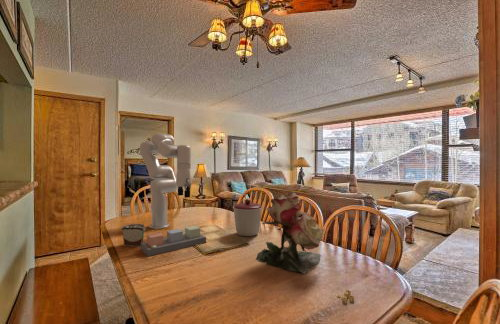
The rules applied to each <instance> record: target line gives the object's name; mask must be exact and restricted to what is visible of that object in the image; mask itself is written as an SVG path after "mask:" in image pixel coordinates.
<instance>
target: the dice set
mask: <svg viewBox="0 0 500 324" xmlns="http://www.w3.org/2000/svg"><path fill="white" fill-rule="evenodd" d="M343 292H344V293H343V296H342V295H341V294H337V295H336V298H340V299H341V301H342V303H343V304H348V301H350V302H355V295H353V294H351V290H350V289H345V291H343Z"/></svg>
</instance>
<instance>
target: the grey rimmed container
mask: <svg viewBox="0 0 500 324" xmlns="http://www.w3.org/2000/svg"><path fill="white" fill-rule="evenodd" d="M121 231H122V239H123V246H124V247H141V243H143V242H144V237H145V231H146V226H145V224H144V223H133V224H131V223H130V224H126V225H122V226H121Z"/></svg>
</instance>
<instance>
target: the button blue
mask: <svg viewBox="0 0 500 324" xmlns="http://www.w3.org/2000/svg"><path fill="white" fill-rule="evenodd" d="M183 234H184V232H183V230H180V229H179V228H177V229H176V228H175V229H171V230H166V238H167V241H168V242H170V243H174V242H178V241H183Z"/></svg>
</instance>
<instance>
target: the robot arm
mask: <svg viewBox="0 0 500 324" xmlns="http://www.w3.org/2000/svg"><path fill="white" fill-rule="evenodd" d="M139 152H140V156H141V158H142V160H143V161H144V163H145V166H146V169H147V173H148V175H149V178H150V179H151V182H150V183H149V187H150V188H149V189H150V194H151V223H150V224H149V227H148V228H150V229H153V230H157V229H158V230H159V229H166V228H168V227H170V223H169V222H168V199H167V197H166V195H165V193H167V194H168V193H174V192H176V191H177V196H179V197H180V196H183V197H184V198H187V199H188V198H190V197H191V188H192V182H191V152H192V151H191V146H190V145H187V144H181V145H180V144H179V145H178V144H177V145H176V144H175V138H174V136H173V135H171V134H170V133H169V134H168V133H154V134H153V135H151V139H150V140H145V141H143V142H141V143H140V145H139ZM155 154H159V155H160V156H162V157H164V158H167V159H176V176H175V173H174V170H173V168H172V167H171V166H170V165H168V164H167V165H166V164H165V165H162V164H160V161H159V159H158V157H156V156H155Z"/></svg>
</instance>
